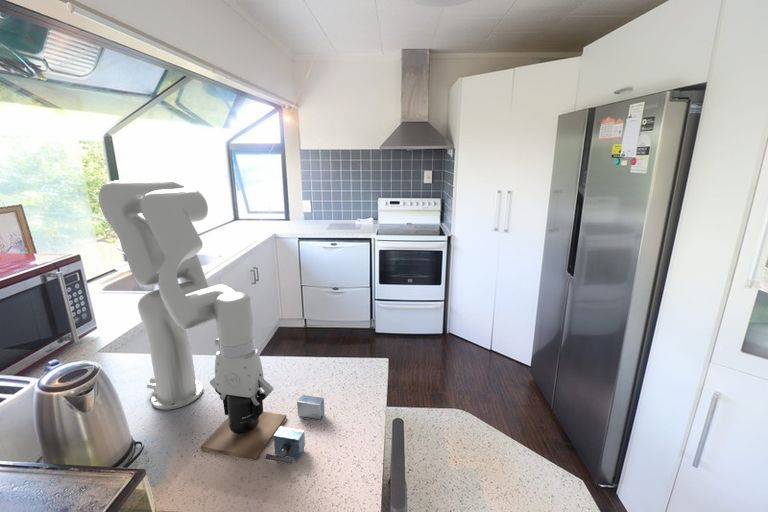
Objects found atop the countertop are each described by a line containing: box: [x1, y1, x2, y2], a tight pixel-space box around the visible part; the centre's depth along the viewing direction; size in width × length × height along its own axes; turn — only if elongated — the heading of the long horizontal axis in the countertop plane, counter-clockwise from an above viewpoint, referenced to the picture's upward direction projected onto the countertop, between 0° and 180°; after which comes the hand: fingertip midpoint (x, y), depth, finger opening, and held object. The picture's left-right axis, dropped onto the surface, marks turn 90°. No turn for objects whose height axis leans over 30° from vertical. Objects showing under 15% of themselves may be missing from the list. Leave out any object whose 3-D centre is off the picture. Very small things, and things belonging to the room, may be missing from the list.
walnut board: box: [200, 411, 287, 462], centre depth 88 cm, size 14×14×1 cm
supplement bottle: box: [227, 394, 259, 434], centre depth 86 cm, size 7×7×12 cm
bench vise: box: [264, 394, 325, 465], centre depth 86 cm, size 6×19×5 cm, turn 168°
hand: (243, 413), depth 87 cm, fingers closed on supplement bottle, 6 cm apart
